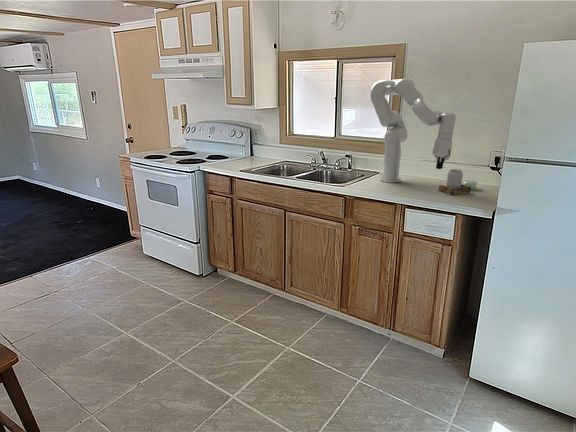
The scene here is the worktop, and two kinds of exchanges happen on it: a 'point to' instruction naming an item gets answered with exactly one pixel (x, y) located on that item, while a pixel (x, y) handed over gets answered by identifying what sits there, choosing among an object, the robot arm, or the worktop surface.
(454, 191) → the bay
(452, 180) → the can
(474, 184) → the white small piece
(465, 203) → the worktop surface
